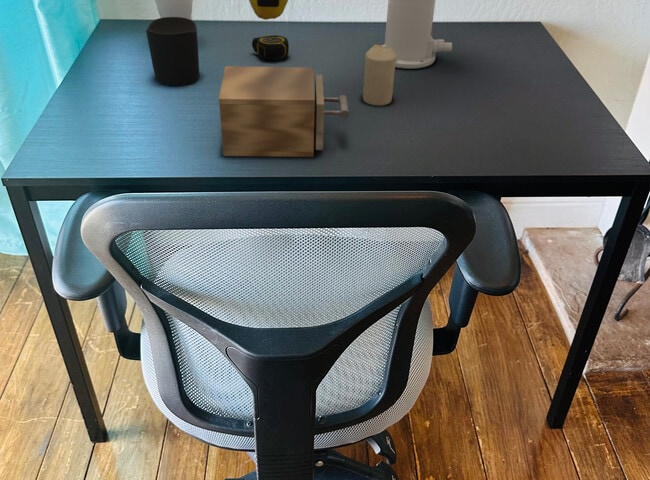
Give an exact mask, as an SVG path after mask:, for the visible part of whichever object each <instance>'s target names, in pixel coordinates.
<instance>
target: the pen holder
mask: <svg viewBox="0 0 650 480" xmlns="http://www.w3.org/2000/svg"><path fill="white" fill-rule="evenodd" d="M145 33H146V38H147V43H148V48H149V49H148V50H149V53H150V58H151V65H152V69H153V73H154V78H155V80H156V81H157V82H158V83H159V84H162V85H165V86H170V87H171V86H172V87H178V86H179V87H180V86H185V85H191V84H193V83H195V82H196V81H197V80H198V79H199V77H200V63H199V62H200V60H199V59H200V58H199V57H200V56H199V44H198V43H199V41H198V29H197V24H196V22H195V21H194V20H193V19H192V20H190V19H187V18H182V17H164V18H161V17H159V18H156V19H154V20H152V21H151V22H150V23H149V25H148V26H147V28H146V29H145Z"/></svg>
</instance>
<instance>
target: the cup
mask: <svg viewBox="0 0 650 480" xmlns="http://www.w3.org/2000/svg"><path fill="white" fill-rule="evenodd" d="M154 1H155V5H156V8H157V12H158V15H159V18H164V17H182V18H187V19H190V20H192V21H193V17H192V14H193V1H194V0H154Z"/></svg>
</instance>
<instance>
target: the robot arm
mask: <svg viewBox="0 0 650 480" xmlns="http://www.w3.org/2000/svg"><path fill="white" fill-rule="evenodd" d="M257 5H258V6H259V7H278V6H279V0H257ZM435 7H436V0H387V12H386V23H385V35H384V44H381V45H382V46H385V47H390V48H391V49H392V50H393V51H394V53H395V54H396V62H395V68H398V69H407V70H409V69H411V70H413V69H415V70H416V69H421V68H426V67H429V66H431V65H432V64H433V63H435V61H436V54H437V52H442V53H452V51H453V43H452V42H451V41H450V42H447V41H446V42H445V39H442V38H441V39H440V38H439V39H434V38H433V35H432V29H433V23H434V16H435V15H434V14H435Z"/></svg>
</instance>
